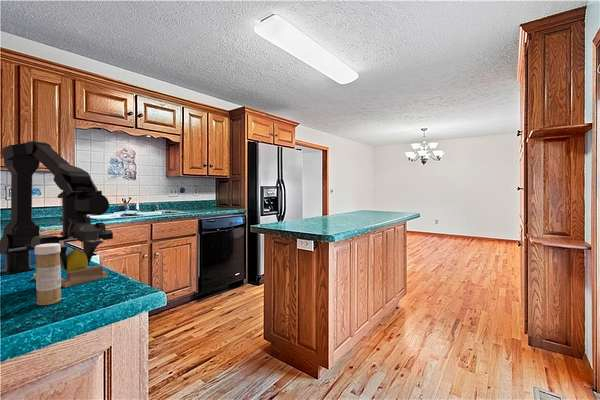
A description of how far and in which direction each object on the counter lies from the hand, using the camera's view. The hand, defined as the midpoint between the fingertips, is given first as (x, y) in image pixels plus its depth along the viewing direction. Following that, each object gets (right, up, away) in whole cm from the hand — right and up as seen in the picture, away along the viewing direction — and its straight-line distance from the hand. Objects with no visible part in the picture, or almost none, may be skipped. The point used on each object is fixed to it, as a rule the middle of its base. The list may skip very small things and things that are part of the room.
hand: (76, 267), depth 88 cm
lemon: (0, -3, 0) cm, 3 cm away
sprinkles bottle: (+7, -4, -18) cm, 20 cm away
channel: (-3, -3, +1) cm, 4 cm away
